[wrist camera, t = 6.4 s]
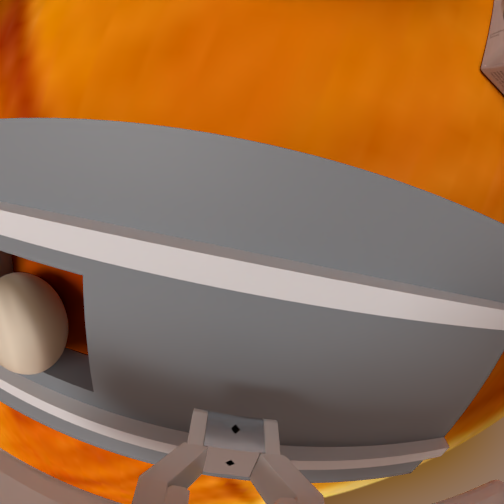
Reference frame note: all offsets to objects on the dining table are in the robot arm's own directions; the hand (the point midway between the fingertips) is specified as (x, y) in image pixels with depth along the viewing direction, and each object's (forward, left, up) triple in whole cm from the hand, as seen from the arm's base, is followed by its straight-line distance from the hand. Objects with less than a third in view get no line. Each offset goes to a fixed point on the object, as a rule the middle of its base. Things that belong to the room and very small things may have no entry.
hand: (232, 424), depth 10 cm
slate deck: (+1, 0, -5) cm, 5 cm away
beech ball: (+10, 0, -2) cm, 11 cm away
